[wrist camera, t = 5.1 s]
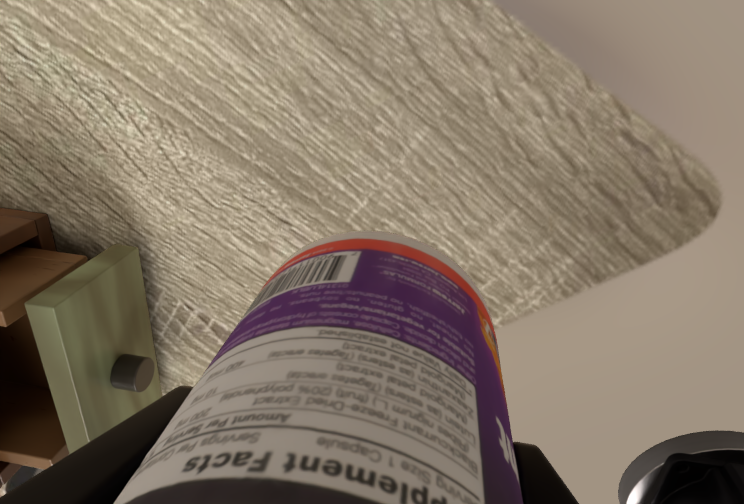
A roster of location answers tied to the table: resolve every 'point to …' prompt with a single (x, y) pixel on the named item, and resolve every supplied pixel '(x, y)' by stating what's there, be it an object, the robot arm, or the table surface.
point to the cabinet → (31, 231)
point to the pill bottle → (346, 390)
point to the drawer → (71, 350)
